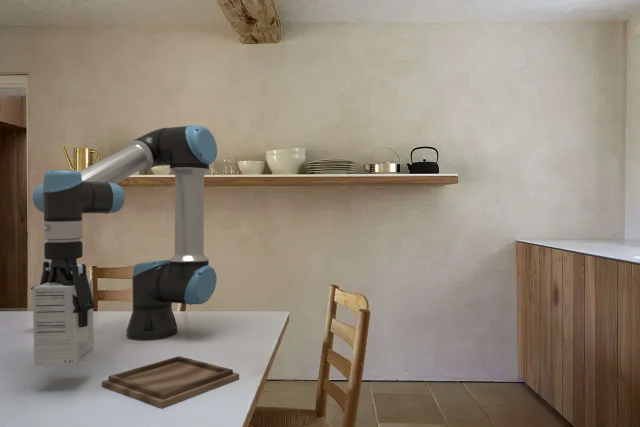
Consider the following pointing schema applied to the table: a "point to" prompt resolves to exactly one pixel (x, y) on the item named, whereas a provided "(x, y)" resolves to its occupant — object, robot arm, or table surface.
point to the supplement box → (58, 326)
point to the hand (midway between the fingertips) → (64, 337)
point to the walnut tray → (169, 381)
